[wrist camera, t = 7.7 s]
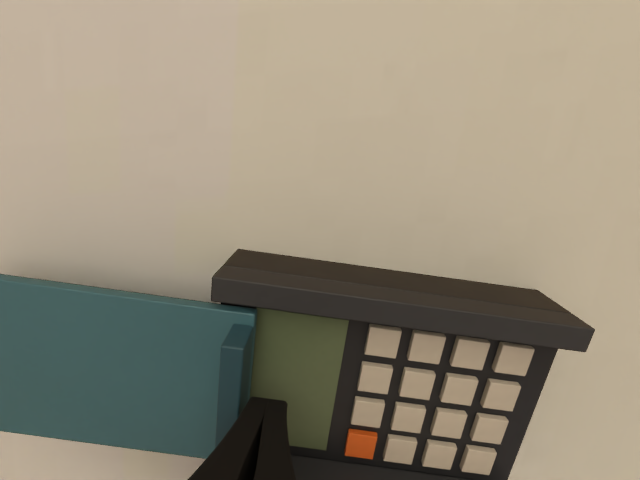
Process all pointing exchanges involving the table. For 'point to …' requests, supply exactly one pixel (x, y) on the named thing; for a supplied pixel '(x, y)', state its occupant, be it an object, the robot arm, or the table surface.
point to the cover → (122, 366)
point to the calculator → (396, 365)
